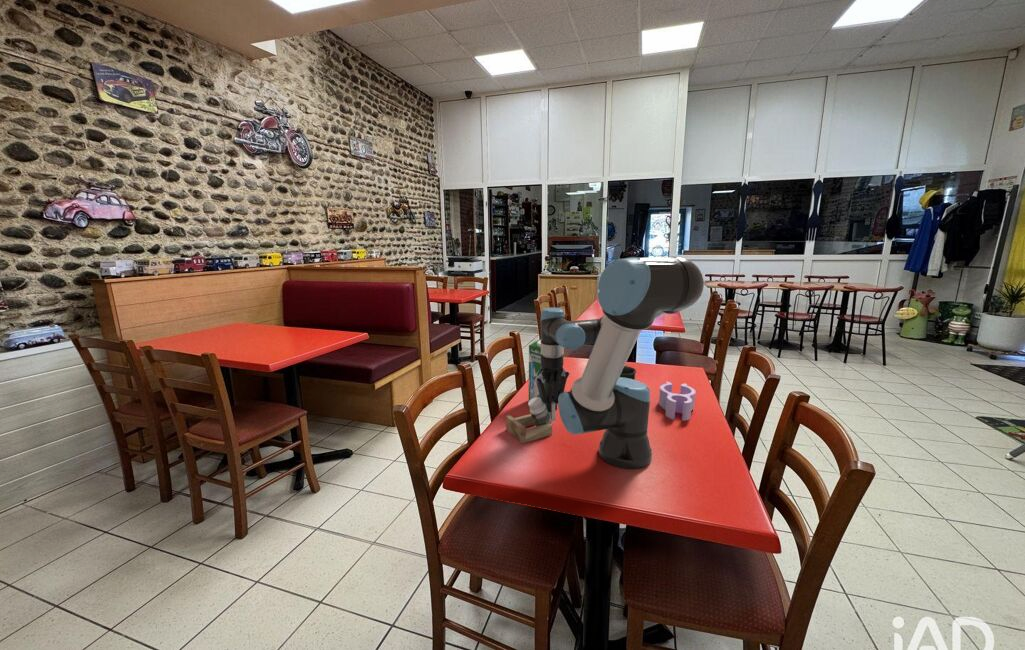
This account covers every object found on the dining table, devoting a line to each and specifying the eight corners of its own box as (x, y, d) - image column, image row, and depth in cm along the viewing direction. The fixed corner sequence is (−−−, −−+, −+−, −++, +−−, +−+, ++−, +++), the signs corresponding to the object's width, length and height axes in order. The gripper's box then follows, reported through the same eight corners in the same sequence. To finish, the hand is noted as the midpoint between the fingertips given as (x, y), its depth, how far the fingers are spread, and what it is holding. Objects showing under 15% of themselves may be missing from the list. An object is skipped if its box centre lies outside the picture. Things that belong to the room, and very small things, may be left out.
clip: (697, 423, 141) (699, 404, 139) (659, 418, 144) (661, 400, 143) (691, 400, 159) (693, 384, 158) (658, 397, 163) (659, 380, 161)
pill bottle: (535, 423, 140) (525, 400, 136) (550, 417, 140) (541, 393, 136) (538, 432, 134) (527, 409, 131) (554, 426, 134) (544, 402, 131)
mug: (632, 405, 155) (634, 375, 152) (594, 399, 161) (595, 370, 158) (636, 395, 164) (638, 367, 162) (600, 389, 170) (602, 362, 168)
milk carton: (528, 400, 160) (528, 339, 154) (544, 394, 165) (545, 335, 160) (544, 407, 153) (545, 344, 147) (560, 401, 159) (562, 339, 153)
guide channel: (552, 434, 132) (552, 420, 131) (521, 443, 127) (521, 429, 126) (535, 422, 141) (535, 408, 140) (506, 429, 136) (505, 416, 135)
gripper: (561, 348, 139) (560, 410, 145) (529, 354, 133) (529, 419, 139) (574, 354, 133) (573, 419, 139) (541, 361, 127) (541, 428, 133)
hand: (551, 419), depth 139 cm, fingers closed
